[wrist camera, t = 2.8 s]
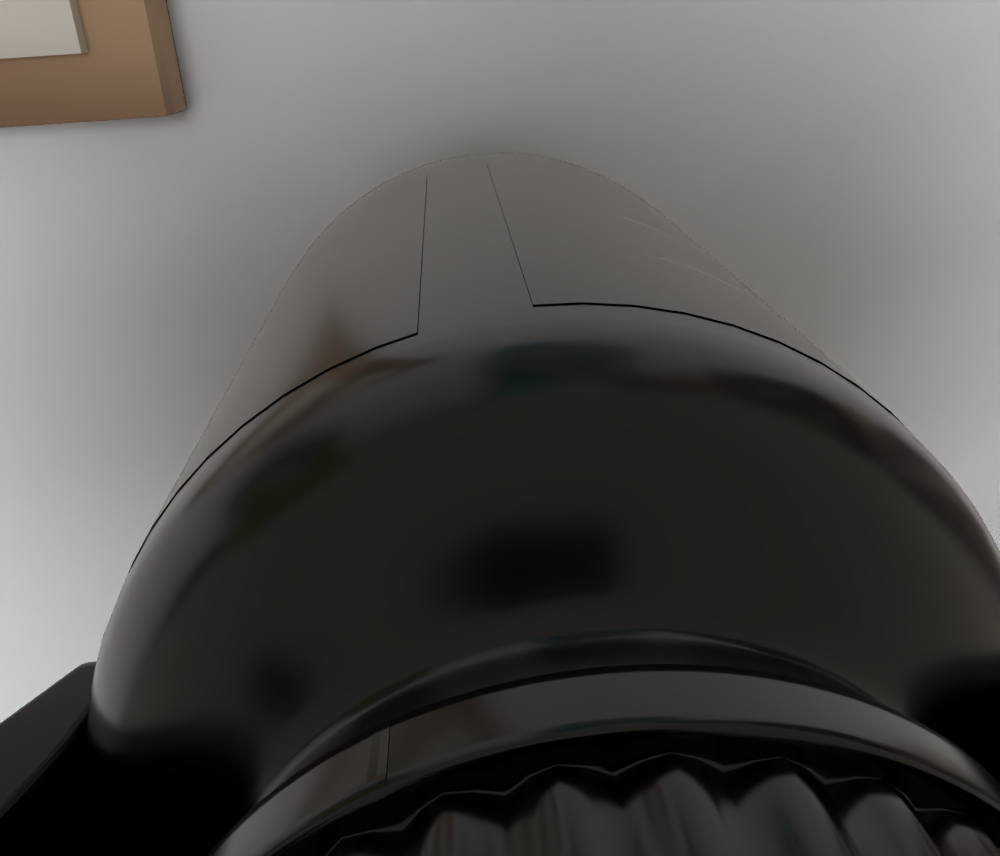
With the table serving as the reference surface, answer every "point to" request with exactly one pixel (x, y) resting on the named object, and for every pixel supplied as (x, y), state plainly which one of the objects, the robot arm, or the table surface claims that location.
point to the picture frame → (86, 61)
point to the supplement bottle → (547, 565)
